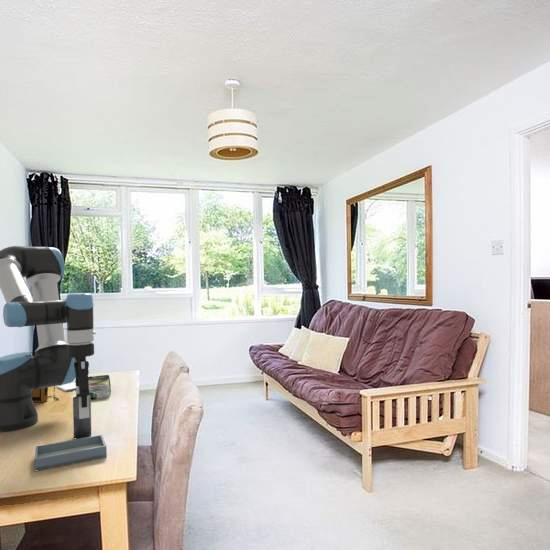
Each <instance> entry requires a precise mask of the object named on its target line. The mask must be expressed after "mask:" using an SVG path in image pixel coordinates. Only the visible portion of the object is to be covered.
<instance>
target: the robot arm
mask: <svg viewBox="0 0 550 550" xmlns="http://www.w3.org/2000/svg"><path fill="white" fill-rule="evenodd" d="M64 274H65V260H64V257H63V254H62V252H61V251H60V249H59V248H56V247H52V246H51V247H50V246H49V247H48V246H26V245H25V246H20V245H13V246H12V245H11V246H8V247H7V246H6V247H5V248H3V249H1V250H0V291H1V293H2V296H3V298H4V301H5V303H4V305H3V307H2V309H3V310H2V317H3V322H4V325H5V326H6V327H8V328H23V327H32V326H36V332H37V339H38V340H37V341H38V347H37V348H36V350H34V354H35V356H34V355H32V353H30V352H28V351H24V352H16V353H12V354H7V355H4V356H0V433H1V432H9V431H10V430H11V431H15V429H16V430H21V429H23V428H24V429H25V428H27V427H29V426H32V425H34V424H36V423H37V422H38V420H39V413H38V411H37V408H36V405H35V404H34V403H35V402H33V401H32V390H35V389H41V388H47V387H48V388H52V387H54V386H55V387H56V386H58V385H59V386H61V385H64V384H68V383H73V382H75V383H76V390H75V397H76V396H77V397H79V419H83V418H89V393H90V392H89V382H88V377H89V372H90V371H89V368H90V364H89V360H87V357H91V356H93V355H94V354H95V344H94V340H95V339H94V338H95V337H94V335H96V334H97V332H96V331H94V306H95V304H94V300H93V295H92V294H91V293H90V292H89V293H69V294H67V295H66V296H65V297H66V298H65V299H64V298H63V299H60V295H59V288H58V283H59V282H60V280H61V278H62V276H63V275H64ZM25 279H26V280H25ZM28 285H29V286H31V289H32V293H31V291H30V289H29V287H28ZM64 324H66V339H65V332H64ZM77 386H78V387H77ZM20 428H21V429H20ZM11 431H10V432H11Z"/></svg>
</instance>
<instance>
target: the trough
mask: <svg viewBox="0 0 550 550" xmlns="http://www.w3.org/2000/svg"><path fill="white" fill-rule="evenodd" d="M107 449H108V448H107V444H106V441H105V439H104V436H103V434H99V435H93V436H92V435H91V436H90V437H86V438H80V439H71V440H65V441H57V442H53V443H52V442H51V443H46V444H42V445H36V446H35V449H34V450H35V454H34V465H35V466H34V471H35V470H39V471H43V470H42V469H44V470H48V469H47V468H49V469H53V468H52V467H54V468H57V467H56V466H60V467H63V466H62V465H65V466H68V464H70V465H73V464H72V463H75V464H79V463H78V462H80V463H83V461H85V462H88V461H87V460H90V461H93V460H92V459H95V460H98V459H97V458H100V459H104V458H103V457H105V458H107V457H108V455H107Z"/></svg>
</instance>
